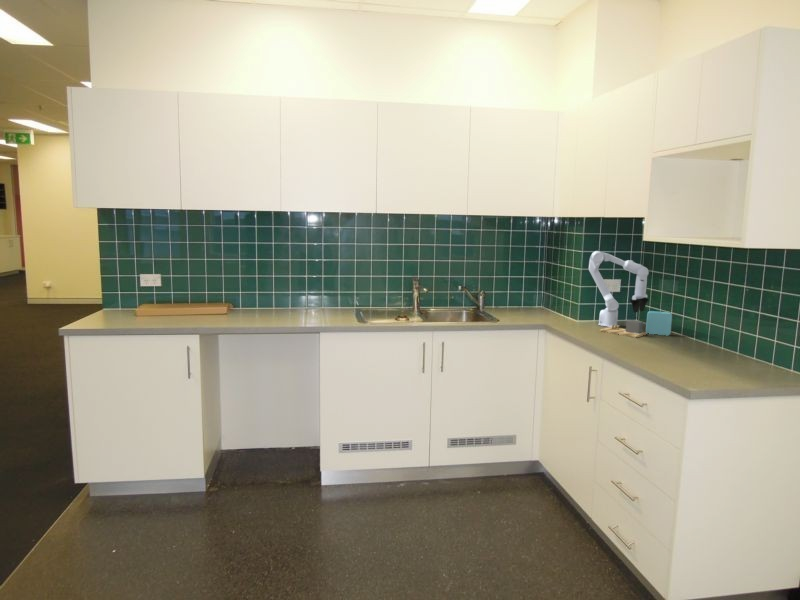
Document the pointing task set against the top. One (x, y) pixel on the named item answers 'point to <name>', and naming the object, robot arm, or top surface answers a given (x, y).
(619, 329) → the board
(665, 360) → the top surface
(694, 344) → the top surface
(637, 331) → the block
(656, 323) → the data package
